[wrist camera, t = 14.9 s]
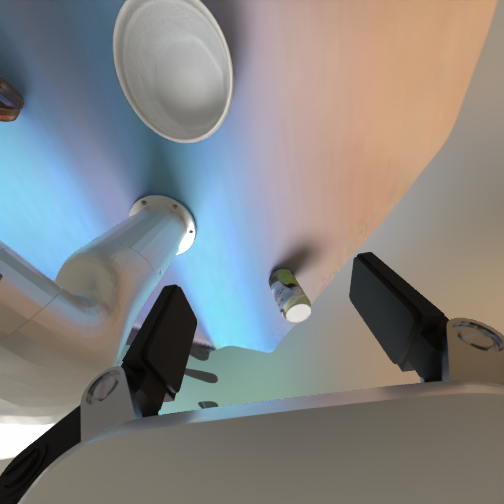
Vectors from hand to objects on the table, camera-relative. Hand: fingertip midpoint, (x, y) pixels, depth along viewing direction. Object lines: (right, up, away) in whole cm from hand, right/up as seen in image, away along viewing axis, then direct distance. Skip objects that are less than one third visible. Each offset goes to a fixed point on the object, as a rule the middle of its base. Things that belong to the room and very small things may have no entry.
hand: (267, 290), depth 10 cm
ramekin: (-10, +26, +17) cm, 32 cm away
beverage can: (+7, -4, +35) cm, 35 cm away
